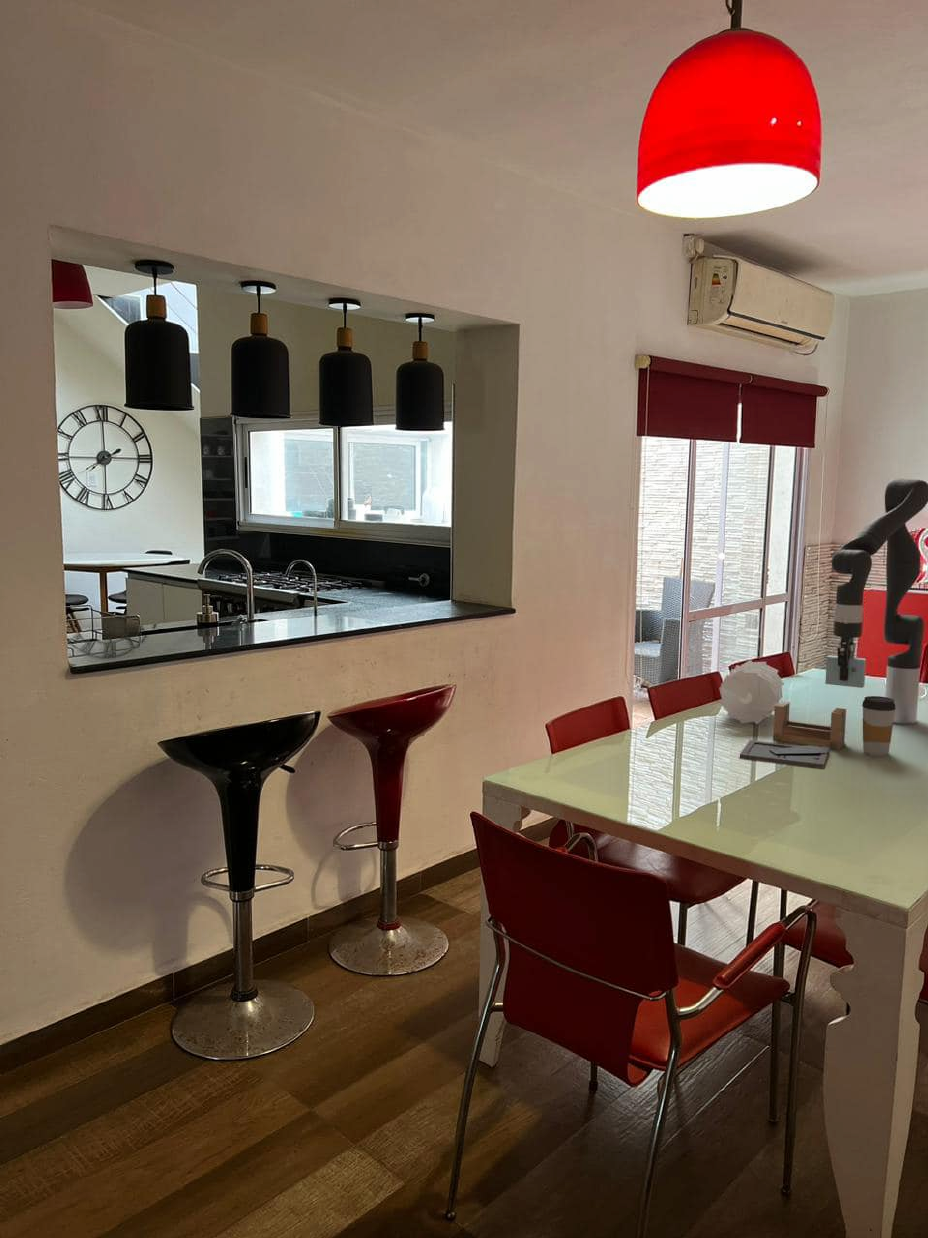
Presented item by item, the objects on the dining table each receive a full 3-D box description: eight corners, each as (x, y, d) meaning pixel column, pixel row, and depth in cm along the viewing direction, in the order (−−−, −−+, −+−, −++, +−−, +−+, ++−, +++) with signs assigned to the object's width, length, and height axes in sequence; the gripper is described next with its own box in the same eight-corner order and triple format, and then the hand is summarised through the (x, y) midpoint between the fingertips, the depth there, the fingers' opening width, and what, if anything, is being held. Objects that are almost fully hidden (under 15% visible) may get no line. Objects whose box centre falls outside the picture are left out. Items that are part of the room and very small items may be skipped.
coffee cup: (896, 757, 243) (899, 703, 241) (863, 756, 244) (866, 701, 242) (888, 749, 251) (891, 696, 249) (856, 747, 252) (859, 695, 250)
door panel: (827, 682, 264) (829, 655, 263) (864, 686, 259) (866, 658, 258) (824, 684, 261) (826, 657, 260) (861, 688, 256) (863, 660, 255)
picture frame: (828, 754, 248) (749, 745, 257) (829, 747, 247) (749, 738, 257) (823, 770, 233) (739, 760, 243) (823, 763, 233) (739, 752, 242)
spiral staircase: (768, 723, 296) (758, 737, 273) (719, 695, 302) (706, 707, 279) (796, 675, 291) (789, 686, 269) (746, 648, 297) (735, 656, 275)
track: (779, 734, 267) (780, 701, 265) (844, 743, 257) (846, 709, 255) (772, 739, 261) (774, 705, 259) (839, 749, 251) (841, 714, 250)
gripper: (839, 616, 266) (836, 674, 268) (829, 621, 254) (825, 681, 256) (866, 618, 262) (863, 676, 264) (857, 623, 250) (854, 684, 252)
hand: (844, 679), depth 260 cm, fingers closed on door panel, 3 cm apart
